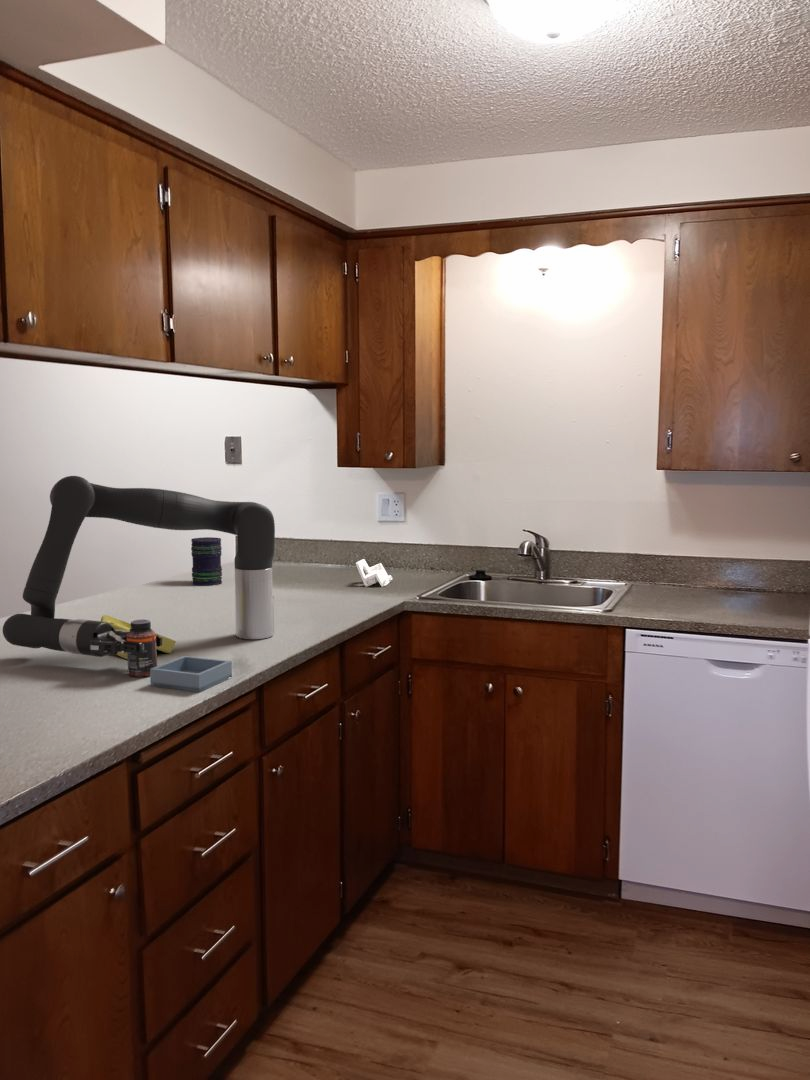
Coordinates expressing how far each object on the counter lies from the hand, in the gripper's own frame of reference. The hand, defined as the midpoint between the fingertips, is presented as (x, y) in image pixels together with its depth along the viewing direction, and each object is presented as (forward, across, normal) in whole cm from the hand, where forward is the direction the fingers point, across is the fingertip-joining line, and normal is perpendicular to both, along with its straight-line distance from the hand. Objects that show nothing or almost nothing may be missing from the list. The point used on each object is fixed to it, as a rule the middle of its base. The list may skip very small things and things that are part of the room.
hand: (151, 644), depth 190 cm
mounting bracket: (-3, +122, +7) cm, 122 cm away
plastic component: (-17, +17, +7) cm, 25 cm away
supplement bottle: (-2, 0, +7) cm, 7 cm away
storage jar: (-54, +101, +7) cm, 115 cm away
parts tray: (+11, -1, +6) cm, 12 cm away
